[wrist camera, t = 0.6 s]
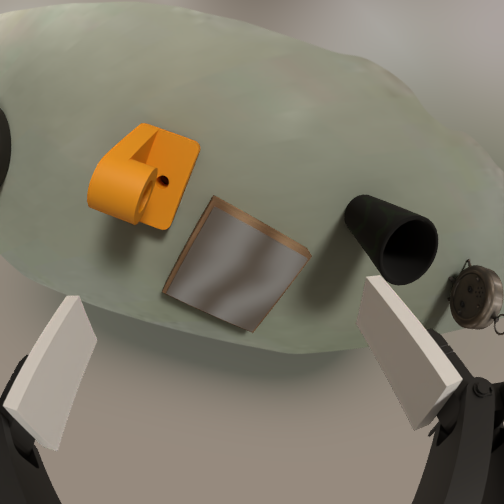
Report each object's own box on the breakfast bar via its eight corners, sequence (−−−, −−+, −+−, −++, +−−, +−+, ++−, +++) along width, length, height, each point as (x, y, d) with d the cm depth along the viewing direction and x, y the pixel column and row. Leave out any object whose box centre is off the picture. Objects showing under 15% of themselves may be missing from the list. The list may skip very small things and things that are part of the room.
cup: (352, 177, 34) (403, 203, 23) (395, 200, 35) (449, 232, 24) (327, 229, 36) (365, 274, 26) (371, 248, 38) (414, 293, 27)
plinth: (165, 282, 38) (161, 294, 35) (213, 195, 33) (212, 201, 31) (251, 322, 42) (253, 335, 39) (307, 248, 37) (313, 258, 35)
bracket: (172, 224, 34) (148, 270, 24) (120, 205, 33) (77, 242, 22) (203, 143, 31) (189, 152, 20) (147, 123, 29) (107, 123, 18)
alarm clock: (449, 304, 45) (495, 356, 30) (433, 302, 44) (482, 358, 30) (474, 256, 41) (529, 301, 26) (459, 250, 40) (519, 298, 25)
